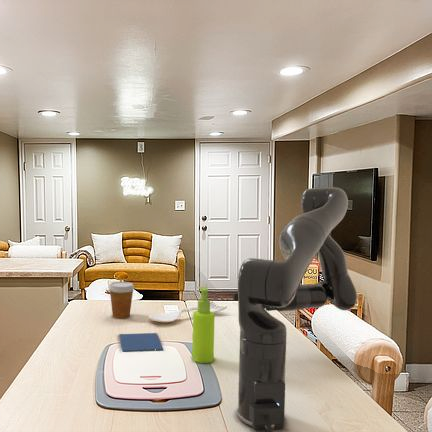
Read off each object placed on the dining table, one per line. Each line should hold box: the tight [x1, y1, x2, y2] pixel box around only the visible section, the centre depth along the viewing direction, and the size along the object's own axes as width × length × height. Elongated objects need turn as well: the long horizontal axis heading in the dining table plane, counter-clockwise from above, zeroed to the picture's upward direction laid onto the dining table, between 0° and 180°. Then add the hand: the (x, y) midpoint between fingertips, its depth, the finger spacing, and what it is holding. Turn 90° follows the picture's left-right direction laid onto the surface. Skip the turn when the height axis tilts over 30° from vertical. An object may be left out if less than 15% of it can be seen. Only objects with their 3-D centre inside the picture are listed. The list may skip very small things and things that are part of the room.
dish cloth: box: [119, 332, 164, 353], centre depth 133 cm, size 14×12×1 cm
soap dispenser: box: [191, 286, 215, 364], centre depth 120 cm, size 6×7×20 cm
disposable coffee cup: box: [108, 281, 135, 319], centre depth 160 cm, size 10×10×12 cm
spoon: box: [147, 301, 228, 323], centre depth 159 cm, size 9×32×4 cm, turn 121°
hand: (240, 300), depth 123 cm, fingers open, 8 cm apart
